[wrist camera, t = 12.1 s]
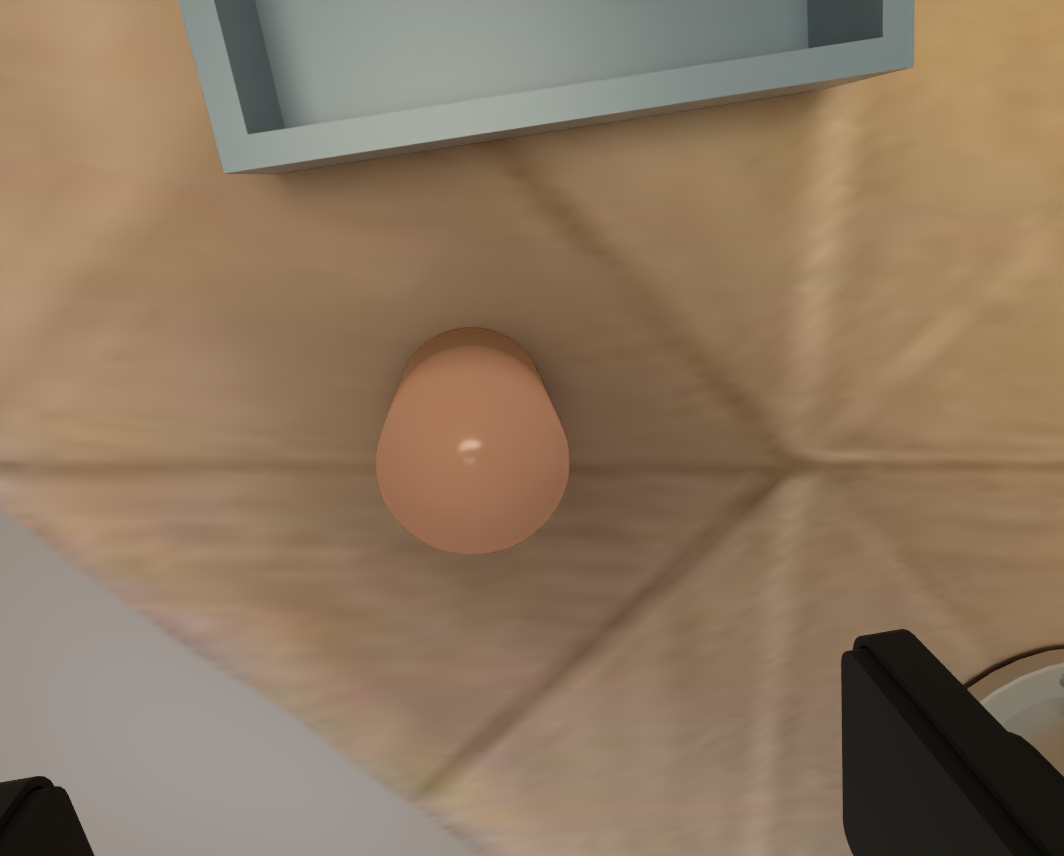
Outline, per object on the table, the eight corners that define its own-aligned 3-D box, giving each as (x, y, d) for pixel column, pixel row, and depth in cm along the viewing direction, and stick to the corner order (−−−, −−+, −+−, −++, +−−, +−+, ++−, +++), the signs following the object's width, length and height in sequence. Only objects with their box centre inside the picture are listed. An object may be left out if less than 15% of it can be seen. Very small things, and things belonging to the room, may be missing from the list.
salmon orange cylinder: (537, 470, 27) (561, 557, 21) (396, 464, 27) (373, 551, 20) (549, 332, 26) (578, 376, 19) (400, 323, 25) (377, 365, 19)
